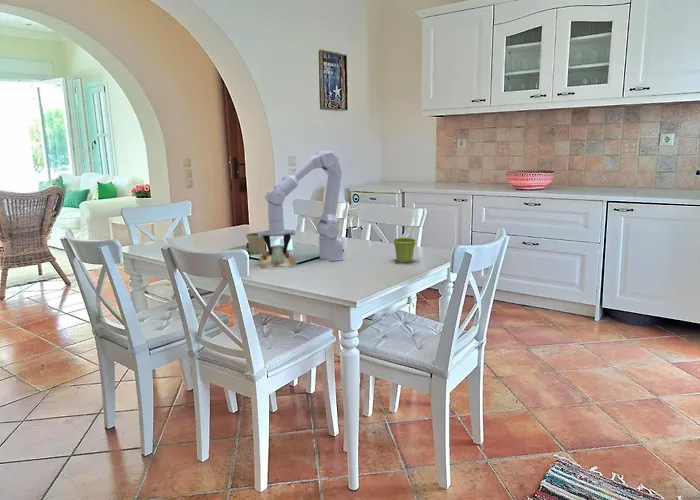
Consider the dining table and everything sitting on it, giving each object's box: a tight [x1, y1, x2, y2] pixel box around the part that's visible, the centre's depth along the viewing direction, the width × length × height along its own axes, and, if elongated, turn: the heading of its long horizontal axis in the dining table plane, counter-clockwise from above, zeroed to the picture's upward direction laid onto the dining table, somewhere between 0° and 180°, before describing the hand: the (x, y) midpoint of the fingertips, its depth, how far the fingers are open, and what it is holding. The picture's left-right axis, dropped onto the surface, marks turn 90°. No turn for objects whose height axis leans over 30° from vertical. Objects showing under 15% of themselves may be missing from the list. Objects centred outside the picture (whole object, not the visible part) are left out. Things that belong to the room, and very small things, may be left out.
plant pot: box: [392, 237, 417, 264], centre depth 207 cm, size 9×9×9 cm
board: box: [258, 250, 298, 270], centre depth 210 cm, size 14×22×3 cm, turn 13°
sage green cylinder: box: [270, 244, 285, 264], centre depth 203 cm, size 5×8×6 cm, turn 12°
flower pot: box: [245, 232, 266, 255], centre depth 225 cm, size 9×9×9 cm
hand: (277, 254), depth 204 cm, fingers closed on sage green cylinder, 5 cm apart
